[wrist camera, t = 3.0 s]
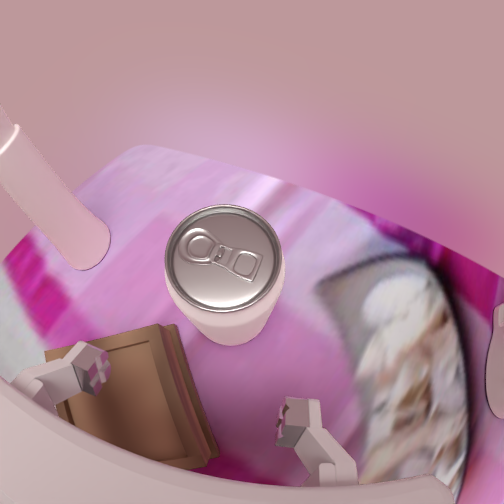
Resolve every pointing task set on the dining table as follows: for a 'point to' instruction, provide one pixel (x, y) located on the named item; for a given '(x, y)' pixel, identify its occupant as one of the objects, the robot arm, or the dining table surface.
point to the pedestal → (145, 399)
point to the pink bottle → (49, 199)
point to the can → (225, 272)
